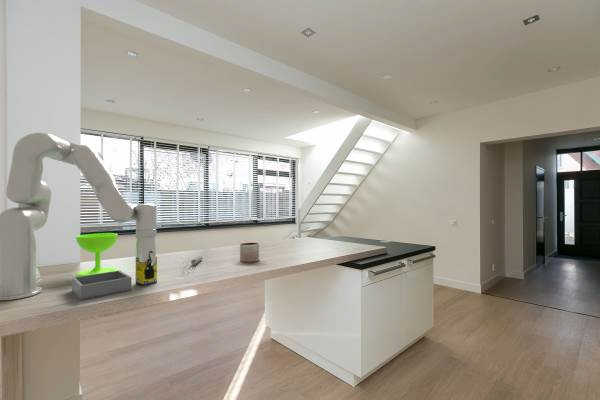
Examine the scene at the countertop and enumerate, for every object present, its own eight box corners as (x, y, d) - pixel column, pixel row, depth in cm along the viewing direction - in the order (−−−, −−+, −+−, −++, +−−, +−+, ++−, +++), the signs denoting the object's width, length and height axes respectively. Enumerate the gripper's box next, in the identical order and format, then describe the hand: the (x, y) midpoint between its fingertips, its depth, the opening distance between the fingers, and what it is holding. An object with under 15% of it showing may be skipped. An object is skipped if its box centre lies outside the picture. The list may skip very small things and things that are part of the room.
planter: (263, 259, 164) (263, 243, 164) (250, 263, 155) (250, 245, 155) (248, 257, 170) (248, 241, 170) (235, 261, 161) (235, 244, 161)
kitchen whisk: (206, 259, 166) (206, 248, 166) (191, 275, 133) (191, 261, 133) (195, 259, 165) (195, 249, 165) (177, 275, 132) (177, 262, 132)
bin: (80, 300, 98) (80, 286, 98) (72, 290, 109) (72, 277, 109) (131, 290, 109) (131, 277, 109) (119, 282, 120) (119, 270, 120)
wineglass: (109, 268, 145) (109, 232, 145) (124, 272, 136) (124, 234, 136) (70, 274, 132) (70, 235, 132) (83, 280, 123) (83, 238, 123)
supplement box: (143, 286, 114) (143, 258, 114) (135, 283, 118) (135, 257, 118) (157, 282, 119) (157, 256, 119) (149, 280, 123) (149, 254, 123)
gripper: (129, 232, 122) (129, 274, 122) (143, 236, 110) (144, 283, 110) (148, 231, 127) (148, 271, 127) (164, 234, 115) (164, 279, 115)
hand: (146, 276), depth 119 cm, fingers closed on supplement box, 6 cm apart
